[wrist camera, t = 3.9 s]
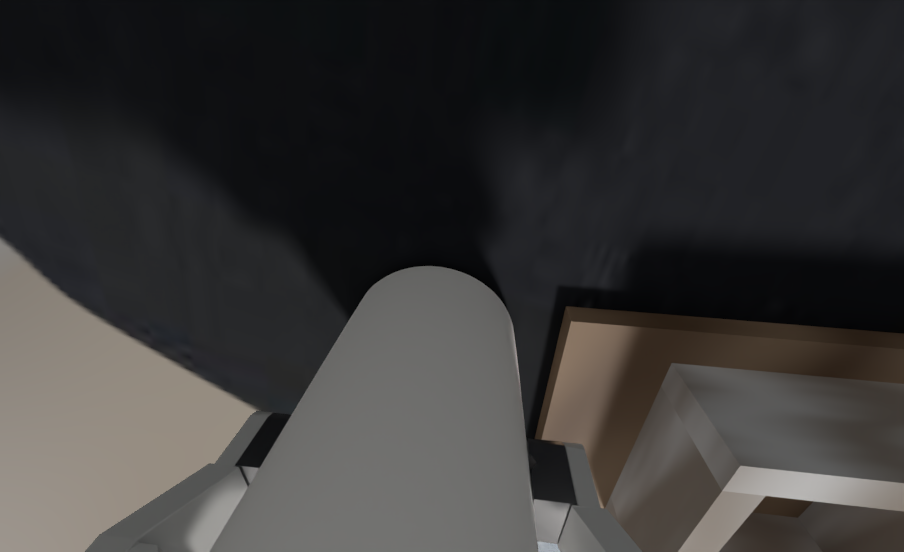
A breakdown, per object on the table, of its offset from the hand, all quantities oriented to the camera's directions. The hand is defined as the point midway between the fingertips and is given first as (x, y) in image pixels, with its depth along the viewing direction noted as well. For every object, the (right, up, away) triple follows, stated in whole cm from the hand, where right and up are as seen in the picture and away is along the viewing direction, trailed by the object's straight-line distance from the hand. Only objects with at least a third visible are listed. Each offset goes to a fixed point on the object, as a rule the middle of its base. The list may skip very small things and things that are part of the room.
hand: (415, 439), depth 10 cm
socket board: (+14, -3, +6) cm, 16 cm away
